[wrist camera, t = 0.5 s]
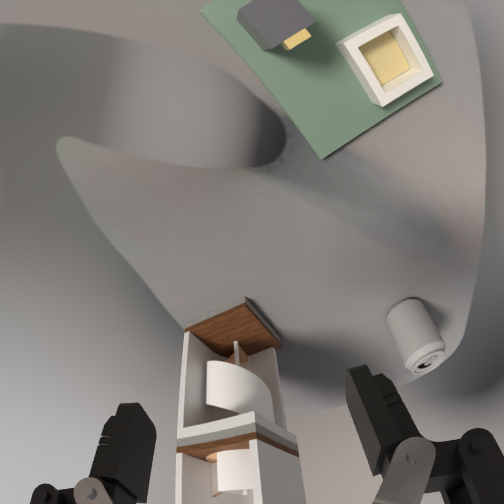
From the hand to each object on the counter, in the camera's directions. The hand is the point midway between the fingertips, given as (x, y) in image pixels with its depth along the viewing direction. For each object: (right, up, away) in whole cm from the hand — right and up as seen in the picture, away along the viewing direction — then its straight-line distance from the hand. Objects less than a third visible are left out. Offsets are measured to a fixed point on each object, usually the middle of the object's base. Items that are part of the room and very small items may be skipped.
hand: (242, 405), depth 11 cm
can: (+27, -5, +39) cm, 48 cm away
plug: (+2, +27, +12) cm, 30 cm away
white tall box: (-2, -7, +38) cm, 39 cm away
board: (+9, +27, +14) cm, 32 cm away
